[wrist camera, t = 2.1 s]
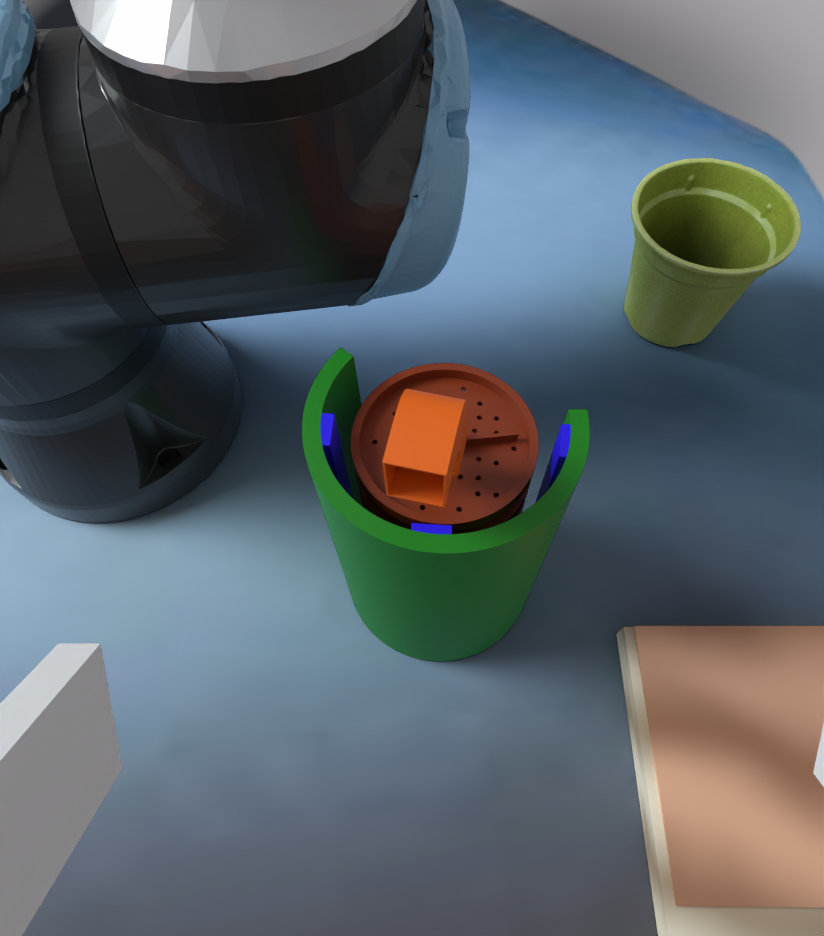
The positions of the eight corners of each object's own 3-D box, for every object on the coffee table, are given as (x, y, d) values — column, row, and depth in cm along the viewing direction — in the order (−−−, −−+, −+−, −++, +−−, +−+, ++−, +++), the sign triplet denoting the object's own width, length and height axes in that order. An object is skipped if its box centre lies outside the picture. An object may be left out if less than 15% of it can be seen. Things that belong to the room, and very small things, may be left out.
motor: (528, 511, 39) (612, 256, 21) (530, 667, 34) (638, 515, 17) (356, 502, 39) (296, 246, 21) (338, 655, 35) (246, 495, 17)
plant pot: (575, 332, 45) (605, 233, 37) (630, 245, 48) (668, 138, 40) (708, 391, 42) (771, 297, 34) (756, 294, 46) (822, 190, 38)
